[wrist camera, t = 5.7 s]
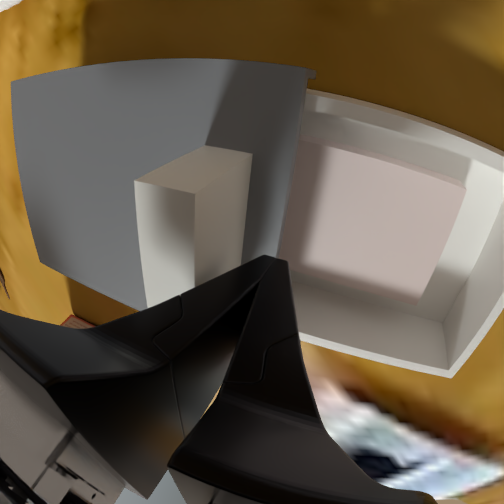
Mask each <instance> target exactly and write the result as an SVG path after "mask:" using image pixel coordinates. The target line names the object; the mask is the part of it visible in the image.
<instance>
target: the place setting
mask: <svg viewBox="0 0 504 504" xmlns="http://www.w3.org/2000/svg"><path fill="white" fill-rule="evenodd" d="M0 281H1V283H2V285H3V287H4V289H5V292H6V294H7V296H8V298H9V295H8V293H7V290H6V288H5V285H4V283H5V281H4V277H3V275H2V273H1V271H0ZM9 299H10V298H9Z"/></svg>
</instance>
